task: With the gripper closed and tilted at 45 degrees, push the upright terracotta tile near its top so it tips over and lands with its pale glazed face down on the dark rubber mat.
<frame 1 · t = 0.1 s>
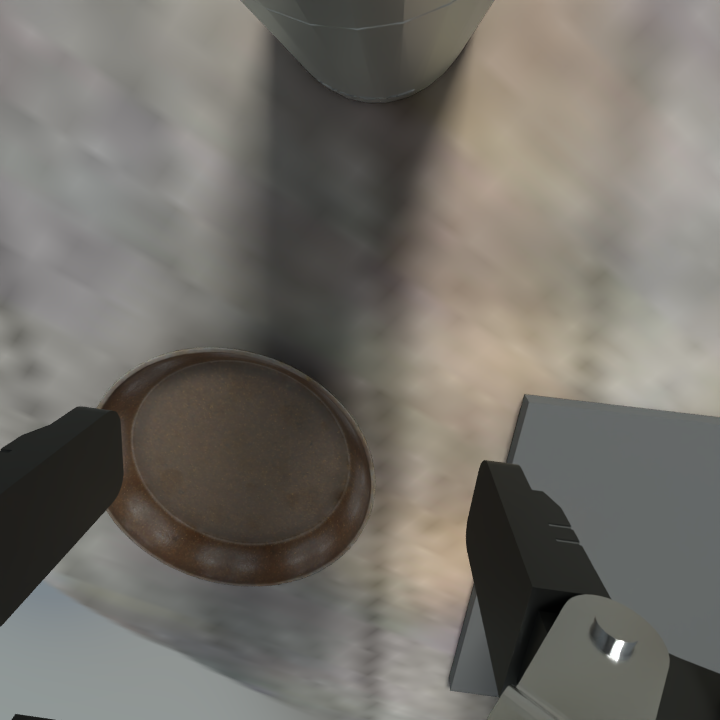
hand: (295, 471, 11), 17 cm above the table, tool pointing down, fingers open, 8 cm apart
plant saucer: (245, 453, 32), on the table
mat: (652, 579, 33), on the table
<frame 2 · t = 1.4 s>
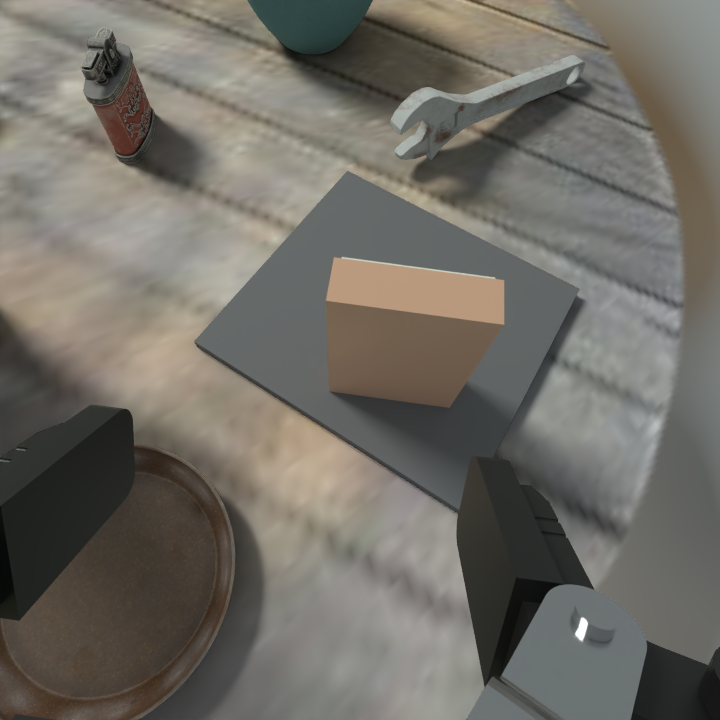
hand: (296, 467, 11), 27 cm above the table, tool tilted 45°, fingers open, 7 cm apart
lighter: (137, 138, 52), on the table
plant saucer: (117, 574, 34), on the table
mat: (395, 319, 44), on the table
tile: (390, 382, 40), point 1 cm above the table, touching mat
wrench: (487, 125, 56), on the table
plant pot: (312, 36, 61), on the table
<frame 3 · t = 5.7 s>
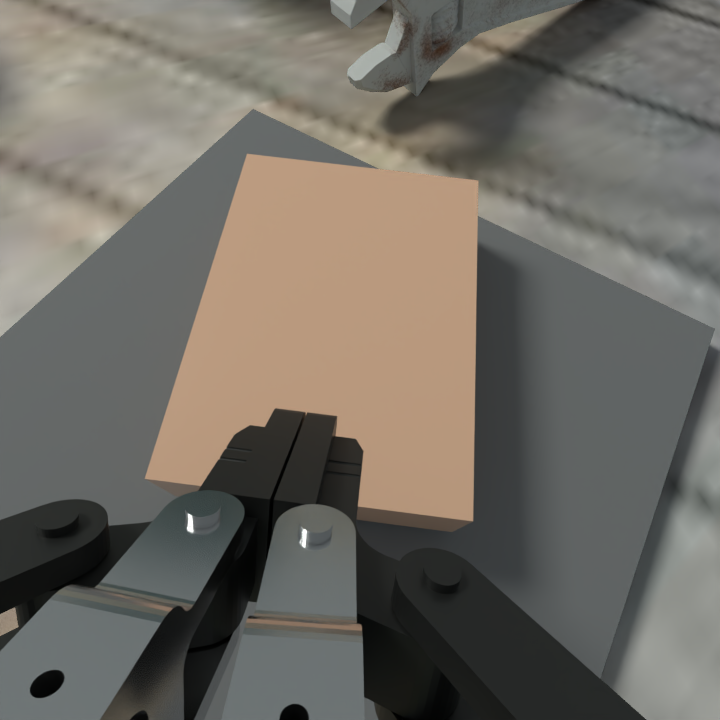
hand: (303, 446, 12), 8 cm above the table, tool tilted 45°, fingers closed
mat: (328, 401, 20), on the table
tile: (310, 507, 16), point 3 cm above the table, tilted 90°, touching mat
wrench: (511, 42, 33), on the table
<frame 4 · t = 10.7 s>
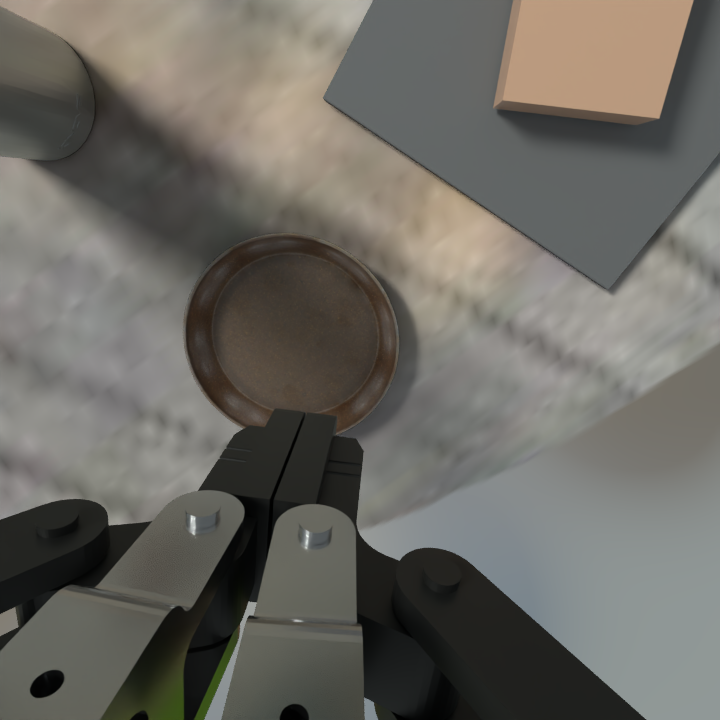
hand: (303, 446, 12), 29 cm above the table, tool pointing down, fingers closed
plant saucer: (297, 335, 42), on the table
mat: (572, 41, 33), on the table
tile: (572, 113, 32), point 3 cm above the table, tilted 90°, touching mat
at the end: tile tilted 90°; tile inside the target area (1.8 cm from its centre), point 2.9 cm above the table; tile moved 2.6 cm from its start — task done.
